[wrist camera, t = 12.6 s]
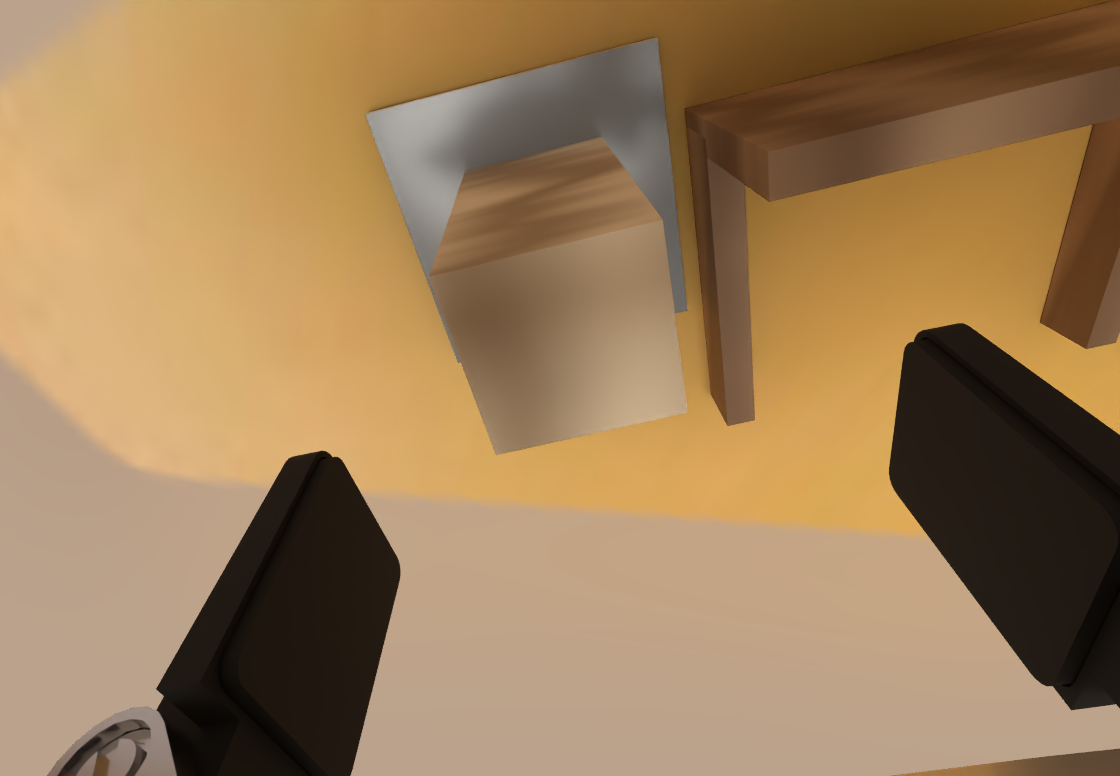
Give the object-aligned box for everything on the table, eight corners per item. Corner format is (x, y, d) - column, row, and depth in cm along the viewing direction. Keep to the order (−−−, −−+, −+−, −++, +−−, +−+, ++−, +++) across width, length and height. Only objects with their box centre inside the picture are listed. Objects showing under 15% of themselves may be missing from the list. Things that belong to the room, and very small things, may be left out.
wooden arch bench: (1165, -13, 19) (1514, -31, 12) (1067, 316, 26) (1259, 419, 19) (684, 108, 20) (768, 151, 14) (711, 394, 27) (775, 517, 20)
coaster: (654, 37, 19) (657, 37, 19) (683, 304, 24) (687, 310, 24) (368, 111, 20) (365, 114, 19) (459, 355, 25) (458, 362, 25)
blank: (601, 136, 20) (662, 219, 12) (624, 268, 23) (687, 412, 14) (464, 171, 20) (428, 277, 12) (503, 297, 23) (495, 455, 15)
